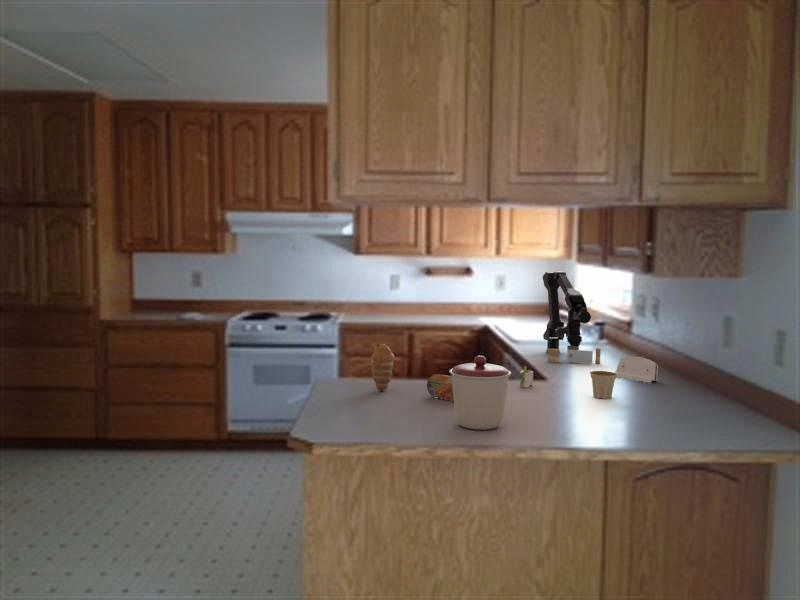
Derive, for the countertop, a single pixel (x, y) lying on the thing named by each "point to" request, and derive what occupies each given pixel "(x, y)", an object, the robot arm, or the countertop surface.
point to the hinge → (637, 369)
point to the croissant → (382, 365)
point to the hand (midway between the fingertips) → (573, 354)
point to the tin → (440, 386)
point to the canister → (479, 393)
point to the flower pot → (603, 383)
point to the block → (572, 347)
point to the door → (579, 356)
